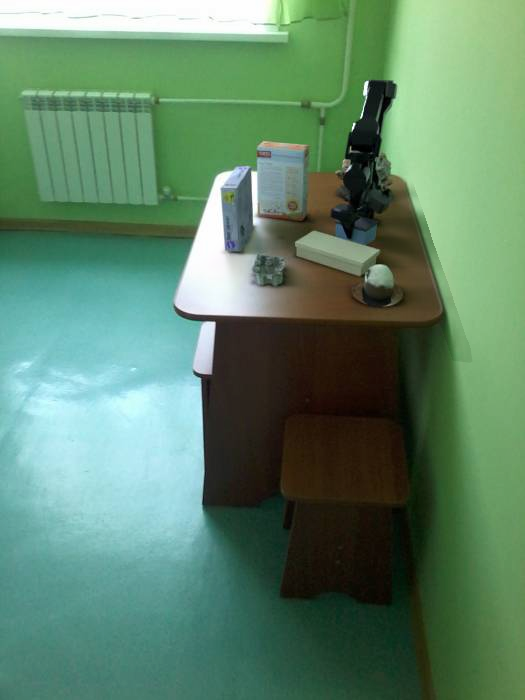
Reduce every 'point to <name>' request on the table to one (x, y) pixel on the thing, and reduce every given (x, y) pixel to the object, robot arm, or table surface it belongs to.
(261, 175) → the cracker box
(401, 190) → the table surface
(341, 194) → the owl figurine
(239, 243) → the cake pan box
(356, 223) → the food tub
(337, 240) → the cream lidded box
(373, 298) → the egg in cup
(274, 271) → the egg carton
